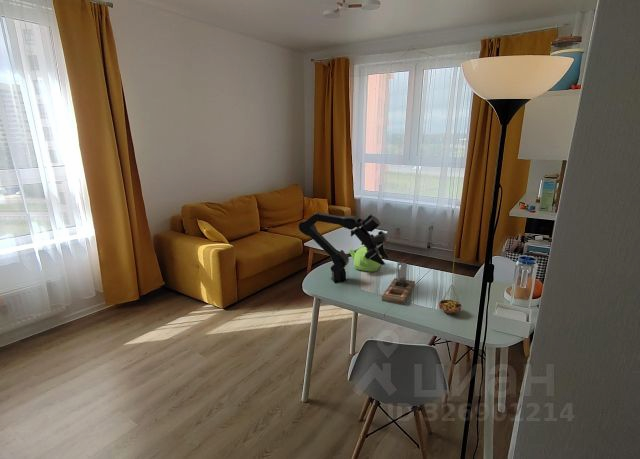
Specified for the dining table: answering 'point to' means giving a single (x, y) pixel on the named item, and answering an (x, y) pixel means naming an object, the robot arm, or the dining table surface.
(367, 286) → the dining table surface
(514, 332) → the dining table surface
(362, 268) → the teapot
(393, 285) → the brown flat block
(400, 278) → the peg
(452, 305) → the bird feeder
